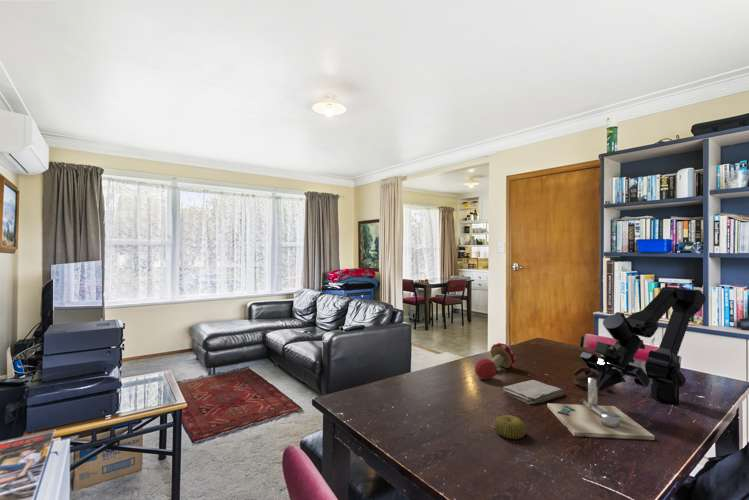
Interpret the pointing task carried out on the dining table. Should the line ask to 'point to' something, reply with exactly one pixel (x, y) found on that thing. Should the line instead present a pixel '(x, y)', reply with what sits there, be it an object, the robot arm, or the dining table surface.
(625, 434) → the napkin
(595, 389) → the crank handle
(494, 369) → the tomato
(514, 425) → the green sea urchin shell
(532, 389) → the washcloth
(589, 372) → the pottery mug
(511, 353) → the decorative mushroom
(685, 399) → the dining table surface
